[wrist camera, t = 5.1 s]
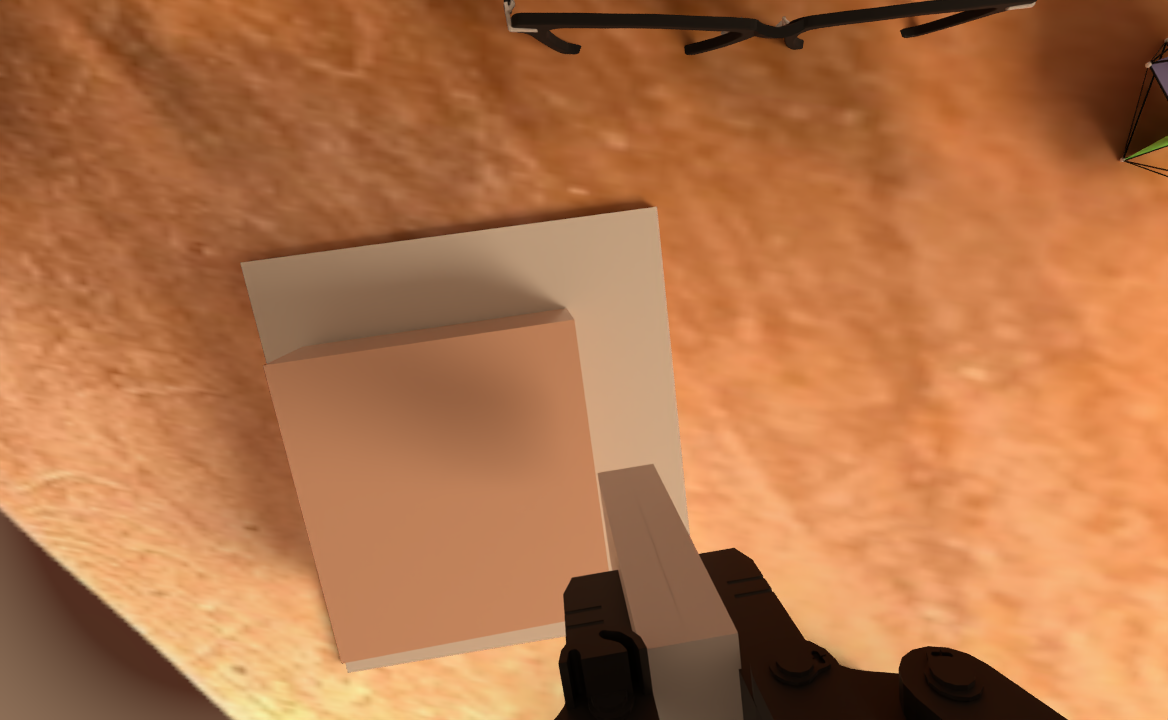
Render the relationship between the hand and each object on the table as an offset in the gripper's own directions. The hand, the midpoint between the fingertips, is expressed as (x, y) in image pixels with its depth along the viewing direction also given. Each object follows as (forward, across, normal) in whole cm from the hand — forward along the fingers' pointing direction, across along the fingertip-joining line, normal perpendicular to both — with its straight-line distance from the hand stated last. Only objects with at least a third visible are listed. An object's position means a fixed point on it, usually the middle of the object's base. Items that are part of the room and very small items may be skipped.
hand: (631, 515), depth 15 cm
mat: (+6, -4, 0) cm, 8 cm away
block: (+5, -1, 0) cm, 5 cm away
